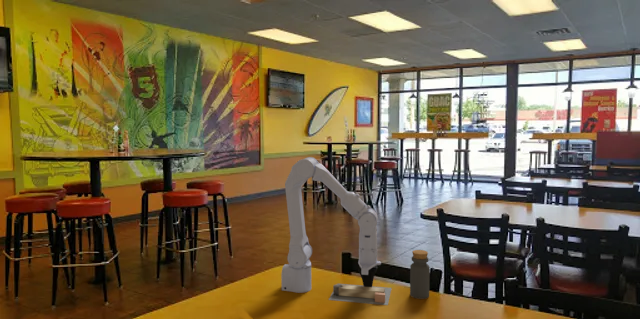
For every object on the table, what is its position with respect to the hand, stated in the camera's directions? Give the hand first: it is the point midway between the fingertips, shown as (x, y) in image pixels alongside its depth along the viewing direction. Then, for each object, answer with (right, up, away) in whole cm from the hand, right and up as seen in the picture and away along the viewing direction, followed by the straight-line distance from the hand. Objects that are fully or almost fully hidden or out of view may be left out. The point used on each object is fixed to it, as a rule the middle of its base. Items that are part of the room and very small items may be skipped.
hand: (367, 289), depth 139 cm
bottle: (+16, -3, -2) cm, 16 cm away
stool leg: (-3, -1, -3) cm, 4 cm away
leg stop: (+3, -2, -7) cm, 8 cm away
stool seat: (-2, -2, -1) cm, 3 cm away
